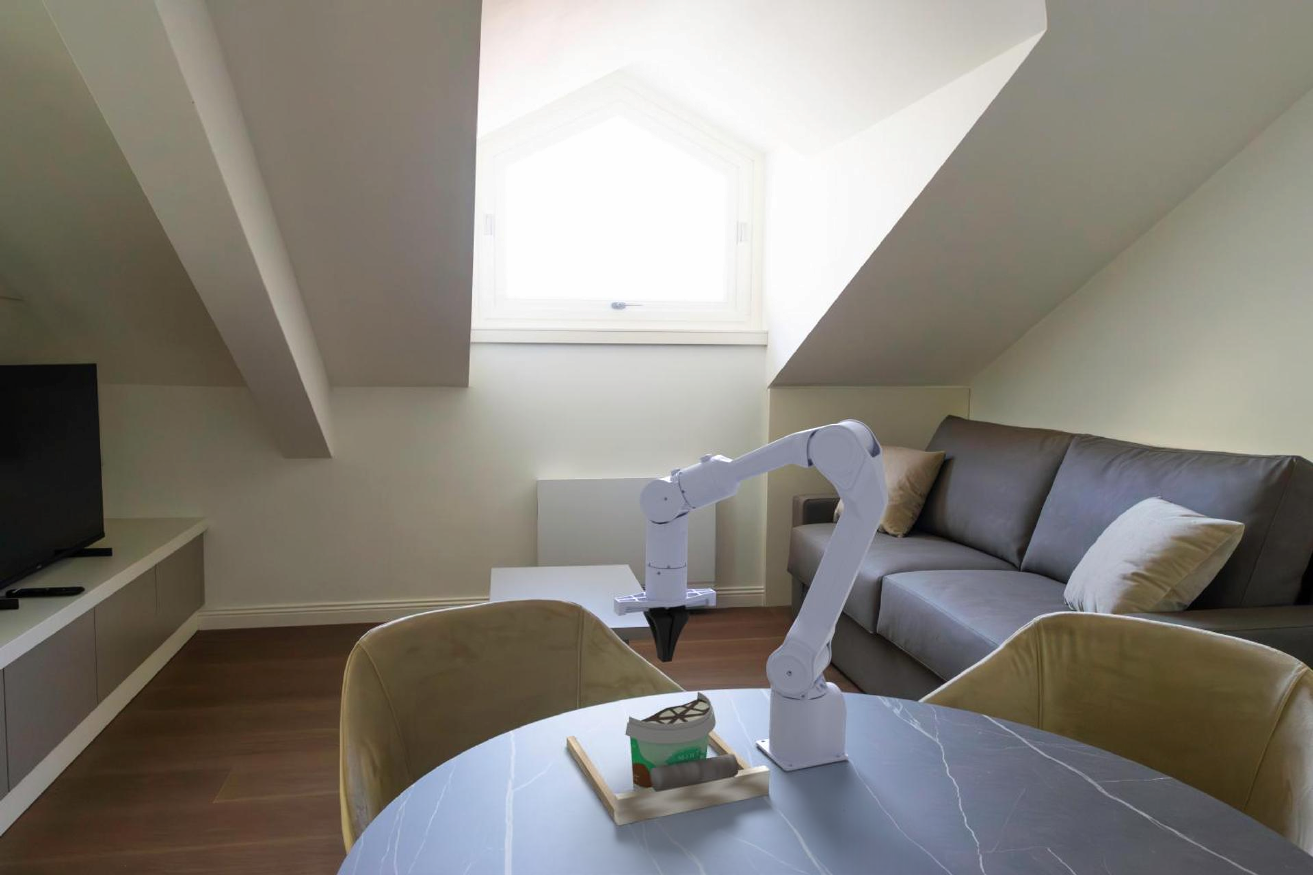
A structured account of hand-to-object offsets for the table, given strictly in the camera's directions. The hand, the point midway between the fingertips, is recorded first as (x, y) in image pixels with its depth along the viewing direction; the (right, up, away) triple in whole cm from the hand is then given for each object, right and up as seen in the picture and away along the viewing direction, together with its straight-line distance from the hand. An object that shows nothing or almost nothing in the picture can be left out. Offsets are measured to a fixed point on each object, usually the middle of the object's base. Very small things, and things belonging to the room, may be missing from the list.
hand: (664, 659), depth 118 cm
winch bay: (-1, -11, -11) cm, 15 cm away
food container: (+2, -12, -17) cm, 21 cm away
